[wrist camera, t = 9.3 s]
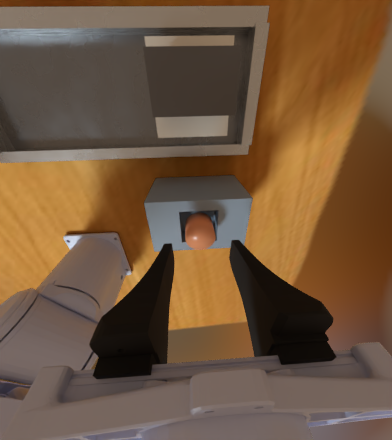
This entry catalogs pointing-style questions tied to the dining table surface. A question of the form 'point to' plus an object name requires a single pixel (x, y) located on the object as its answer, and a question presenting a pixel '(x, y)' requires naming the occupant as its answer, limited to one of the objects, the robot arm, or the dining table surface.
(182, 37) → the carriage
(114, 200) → the dining table surface
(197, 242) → the button
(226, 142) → the grey metal tray
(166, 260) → the robot arm
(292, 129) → the dining table surface
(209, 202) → the end cabinet
